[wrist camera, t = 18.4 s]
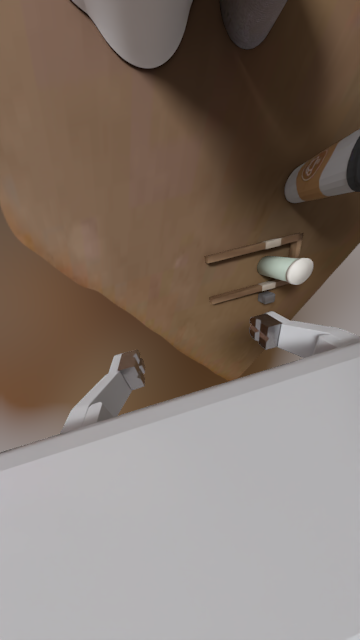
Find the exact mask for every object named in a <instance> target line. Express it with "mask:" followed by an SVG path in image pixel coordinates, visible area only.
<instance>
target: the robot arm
mask: <svg viewBox="0 0 360 640" xmlns="http://www.w3.org/2000/svg"><path fill="white" fill-rule="evenodd" d="M72 1H73V2H74V3H75V4H76V5H77V6H78V7H80V8H81V9H82V10H83V11H84V12H86V13H87V14H88V15H89V16H90V18H91V19H92V20H93V22H94V23H95V25H96V26H97V28H98V29H99V31H100V32H101V34H102V35H103V37H104V38H105V40H106V41H107V42H108V44H109V45H110V46H111V47H112V48H113V49H114V51H115V52H116V53H117V54H118V55H120V56H121V57H122V58H123V59H124V60H126V61H127V62H129V63H130V64H132V65H135V66H137V67H141V68H155V67H158V66H160V65H162V64H164V63H165V62H166V61H168V60H169V59H170V58H171V56H172V55H173V54H174V52H175V51H176V49H177V48H178V46H179V44H180V42H181V39H182V37H183V34H184V31H185V28H186V24H187V19H188V15H189V11H190V7H191V4H192V1H193V0H72ZM250 324H251V326H250V328H249V332H250V335H251V337H252V338H253V339H254V340H256V341H259V344H260V345H261V346H262V347H263V348H264V349H265V350H267V349H270V348H274V347H279V348H281V349H283V350H286V351H288V352H291V353H293V354H296V355H298V356H300V357H303V359H300V360H297V361H294V362H290V363H287V364H284V365H281V366H277V367H274V368H271V369H268V370H264V371H261V372H258V373H255V374H252V375H248V376H245V377H242V378H239V379H235V380H232V381H229V382H226V383H223V384H219V385H216V386H213V387H210V388H206V389H203V390H200V391H197V392H193V393H190V394H187V395H184V396H181V397H178V398H174V399H171V400H168V401H164V402H161V403H158V404H155V405H152V406H148V407H145V408H142V409H139V410H135V411H132V412H129V413H126V414H123V415H119V416H117V415H118V414H119V412H120V410H121V408H122V407H123V405H124V403H125V401H126V400H127V398H128V396H129V395H130V393H131V390H134V389H137V388H140V387H143V386H145V377H144V375H143V374H144V373H145V365H144V361H143V359H142V358H140V353H139V351H138V350H133V351H129V352H125V353H122V354H118V355H115V356H114V358H113V361H112V364H111V367H110V370H109V373H108V374H107V375H105V376H104V377H103V378H102V379H101V380H100V381H99V382H98V383H97V384H96V385H95V386H94V387H93V388H92V389H91V390H90V391H89V392H88V394H87V395H86V396H85V397H84V398H83V399H82V400H81V401H80V402H79V403H78V404H77V405H76V406H75V407H74V408H73V409H72V410H71V412H70V414H69V416H68V418H67V420H66V422H65V425H64V427H63V429H62V431H61V433H60V434H58V435H55V436H52V437H48V438H45V439H42V440H39V441H35V442H32V443H29V444H26V445H23V446H20V447H16V448H13V449H10V450H6V451H3V452H0V640H360V336H357V335H355V334H353V333H350V332H348V331H346V330H344V329H341V328H334V327H329V326H323V325H317V324H311V323H305V322H299V321H290V320H288V319H286V318H284V317H282V316H280V315H279V314H277V313H275V312H272V311H270V312H267V313H264V314H261V315H258V316H254V317H251V318H250Z"/></svg>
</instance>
